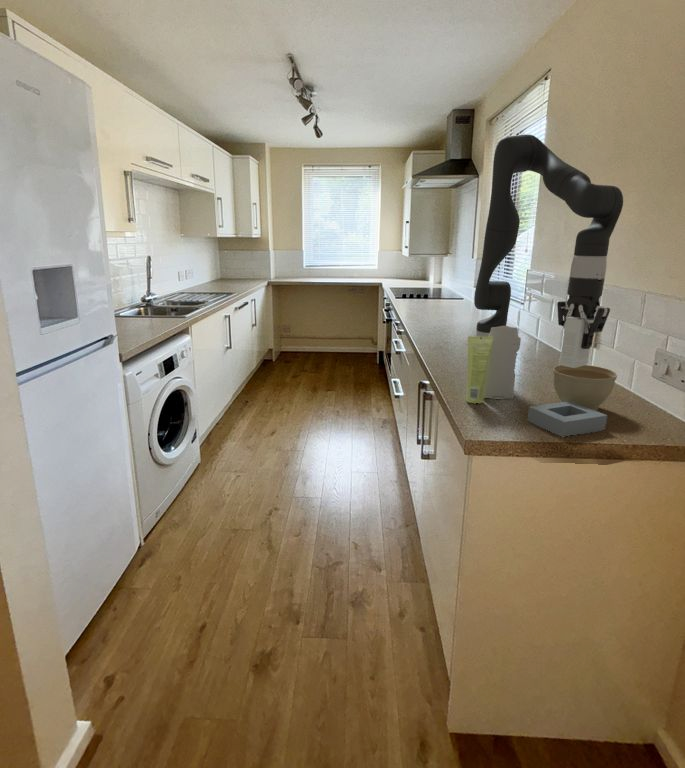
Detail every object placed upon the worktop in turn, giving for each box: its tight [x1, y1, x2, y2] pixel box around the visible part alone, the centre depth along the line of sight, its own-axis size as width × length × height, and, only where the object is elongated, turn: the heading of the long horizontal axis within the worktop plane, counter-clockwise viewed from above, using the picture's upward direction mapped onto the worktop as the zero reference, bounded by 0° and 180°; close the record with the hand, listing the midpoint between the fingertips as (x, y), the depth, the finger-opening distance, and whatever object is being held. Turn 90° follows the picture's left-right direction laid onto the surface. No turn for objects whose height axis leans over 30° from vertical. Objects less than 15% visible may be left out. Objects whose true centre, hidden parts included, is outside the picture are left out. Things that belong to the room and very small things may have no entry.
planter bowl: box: [552, 364, 618, 411], centre depth 139 cm, size 16×16×11 cm
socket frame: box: [527, 401, 608, 438], centre depth 126 cm, size 12×14×4 cm
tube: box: [465, 335, 493, 405], centre depth 142 cm, size 6×5×20 cm
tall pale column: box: [483, 325, 522, 400], centre depth 145 cm, size 11×4×22 cm, turn 93°
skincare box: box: [559, 317, 591, 368], centre depth 120 cm, size 6×4×12 cm
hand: (576, 346), depth 120 cm, fingers closed on skincare box, 5 cm apart
